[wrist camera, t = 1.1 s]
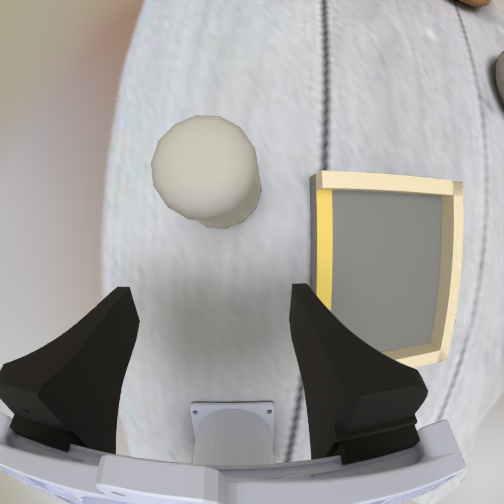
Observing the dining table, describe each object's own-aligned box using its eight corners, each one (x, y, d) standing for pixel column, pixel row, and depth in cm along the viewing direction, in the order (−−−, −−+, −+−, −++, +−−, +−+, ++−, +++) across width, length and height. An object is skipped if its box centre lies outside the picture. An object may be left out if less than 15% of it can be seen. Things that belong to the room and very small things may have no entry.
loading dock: (427, 344, 26) (447, 359, 22) (307, 362, 25) (317, 383, 22) (437, 184, 24) (462, 182, 20) (309, 177, 23) (321, 170, 20)
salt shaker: (172, 181, 23) (102, 148, 10) (232, 141, 23) (222, 65, 10) (213, 241, 24) (180, 271, 11) (273, 200, 24) (310, 184, 11)
